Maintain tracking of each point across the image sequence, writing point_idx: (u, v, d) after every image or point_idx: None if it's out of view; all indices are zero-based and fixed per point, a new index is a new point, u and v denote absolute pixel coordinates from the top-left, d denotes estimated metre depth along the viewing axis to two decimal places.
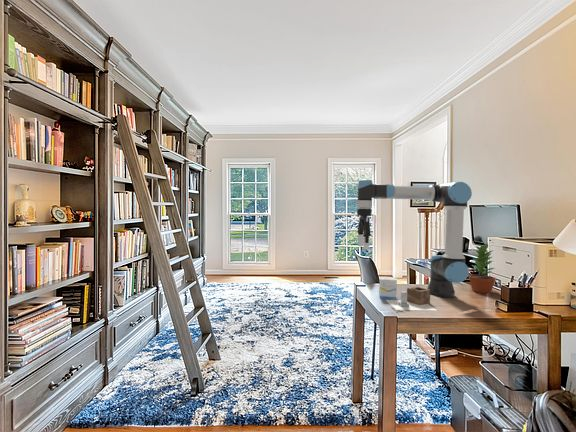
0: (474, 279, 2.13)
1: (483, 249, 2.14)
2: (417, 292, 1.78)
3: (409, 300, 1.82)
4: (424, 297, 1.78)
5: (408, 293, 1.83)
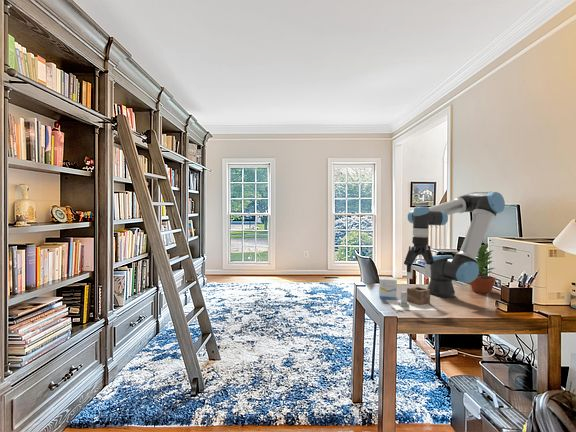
0: None
1: (483, 249, 2.14)
2: (417, 292, 1.78)
3: (409, 300, 1.82)
4: (424, 297, 1.78)
5: (408, 293, 1.83)
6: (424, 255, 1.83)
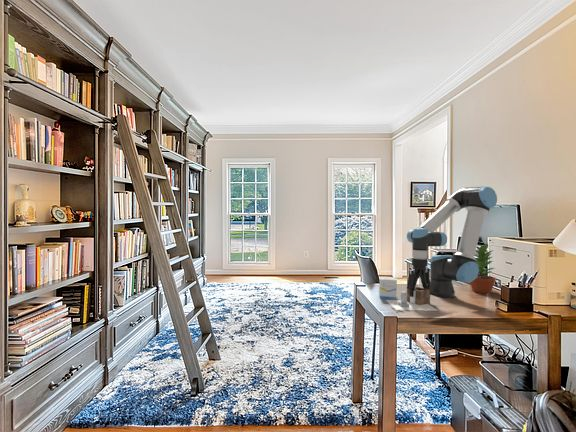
0: None
1: (483, 249, 2.14)
2: (417, 292, 1.78)
3: (409, 300, 1.82)
4: (424, 297, 1.78)
5: (408, 293, 1.83)
6: (422, 277, 1.83)
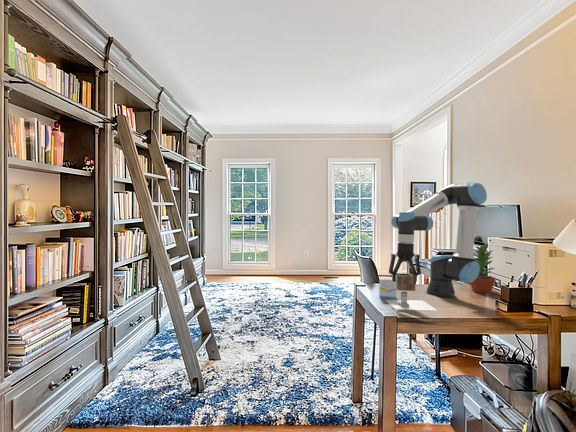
0: None
1: (483, 249, 2.14)
2: (398, 277, 1.72)
3: None
4: (406, 283, 1.71)
5: None
6: (409, 263, 1.74)
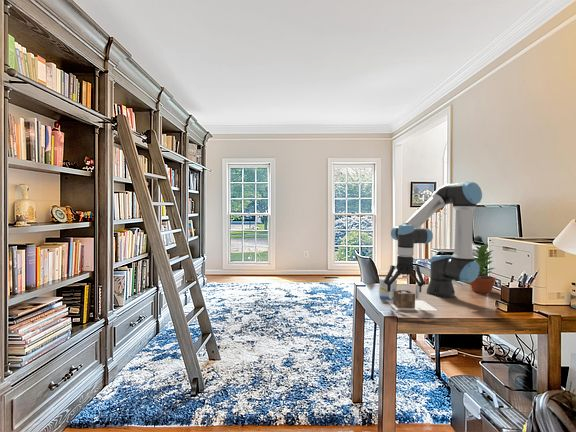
0: None
1: (483, 249, 2.14)
2: (397, 294, 1.72)
3: (394, 302, 1.77)
4: (405, 300, 1.71)
5: (394, 295, 1.78)
6: (411, 275, 1.74)
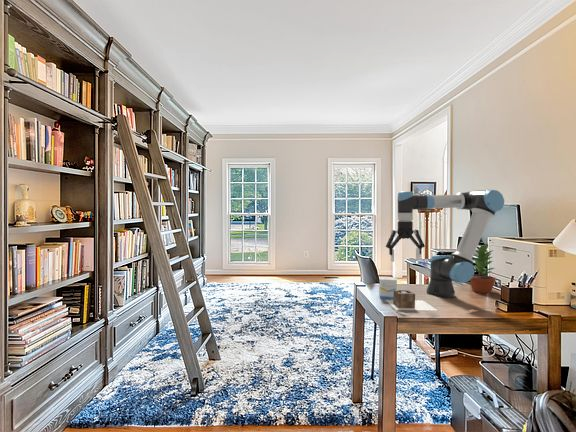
0: (474, 279, 2.13)
1: (483, 249, 2.14)
2: (397, 294, 1.72)
3: (394, 302, 1.77)
4: (405, 300, 1.71)
5: (394, 295, 1.78)
6: (411, 239, 1.86)
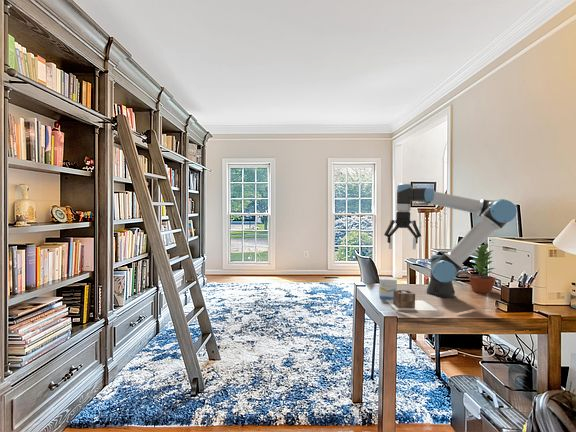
0: (474, 279, 2.13)
1: (483, 249, 2.14)
2: (397, 294, 1.72)
3: (394, 302, 1.77)
4: (405, 300, 1.71)
5: (394, 295, 1.78)
6: (409, 229, 1.99)
